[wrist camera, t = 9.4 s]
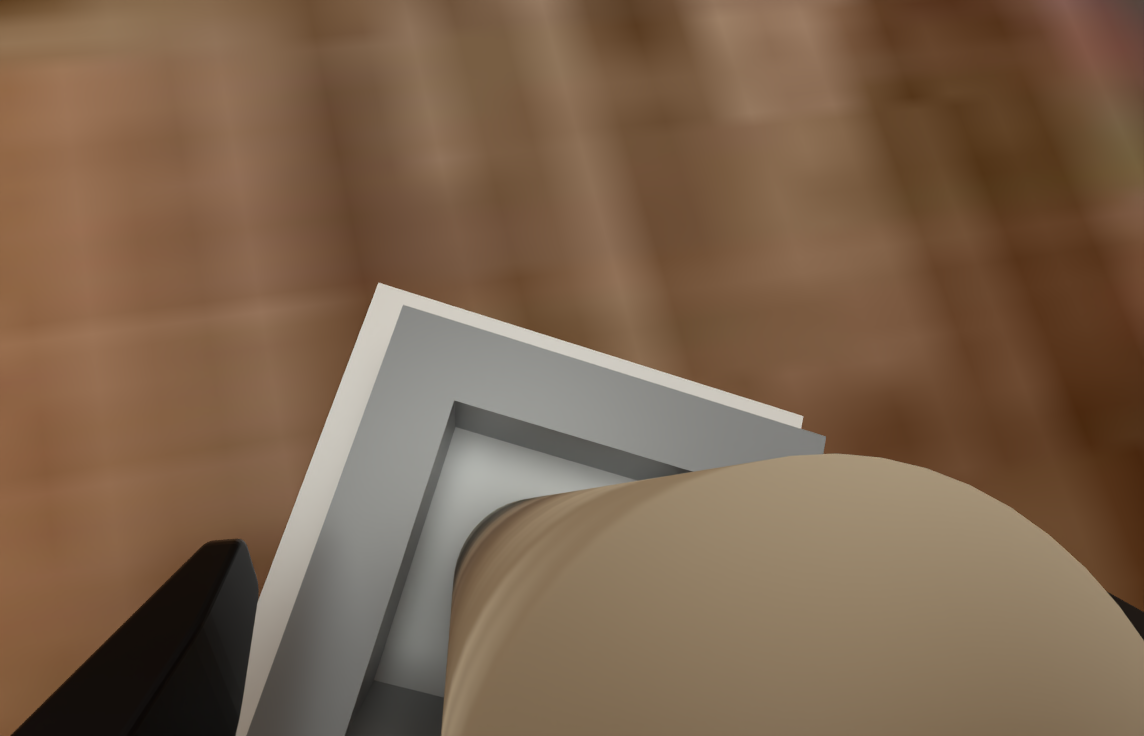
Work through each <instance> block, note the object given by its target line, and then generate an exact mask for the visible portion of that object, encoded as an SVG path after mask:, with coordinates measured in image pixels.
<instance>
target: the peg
mask: <svg viewBox="0 0 1144 736" xmlns="http://www.w3.org/2000/svg"><path fill="white" fill-rule="evenodd" d="M441 736H1144V640H1143V639H1142V637H1141V636H1140V635H1139V633H1138V632H1137V630H1136V629H1135V628H1134V626H1133V625H1132V623H1131V622H1130V621H1129V619H1128V618H1127V616H1126V615H1125V614H1124V612H1123V611H1122V609H1121V608H1120V607H1119V605H1118V604H1117V603H1116V602H1115V601H1114V600H1113V598H1112V597H1111V596H1110V595H1109V594H1108V593H1107V592H1106V591H1105V589H1104V588H1103V587H1102V586H1101V585H1100V584H1099V583H1098V582H1097V580H1096V579H1095V578H1094V577H1093V576H1092V575H1091V574H1090V572H1089V571H1088V570H1087V569H1086V568H1085V567H1084V566H1083V565H1082V564H1081V563H1079V562H1078V561H1077V560H1076V559H1075V558H1074V557H1073V556H1072V555H1071V554H1070V553H1068V552H1067V551H1066V550H1065V549H1064V548H1063V547H1062V546H1061V545H1060V544H1059V543H1057V542H1056V541H1055V540H1054V539H1053V538H1052V537H1051V536H1050V535H1048V534H1047V533H1046V532H1044V531H1043V530H1041V529H1040V528H1039V527H1037V526H1036V525H1034V524H1033V523H1032V522H1030V521H1029V520H1027V519H1026V518H1025V517H1023V516H1022V515H1020V514H1019V513H1018V512H1016V511H1015V510H1013V509H1012V508H1011V507H1009V506H1007V505H1005V504H1003V503H1002V502H1000V501H998V500H996V499H994V498H992V497H990V496H989V495H987V494H985V493H983V492H981V491H979V490H978V489H976V488H974V487H972V486H970V485H968V484H965V483H963V482H960V481H958V480H955V479H953V478H950V477H947V476H945V475H942V474H940V473H937V472H934V471H932V470H929V469H927V468H923V467H918V466H914V465H910V464H906V463H902V462H897V461H893V460H889V459H885V458H878V457H868V456H857V455H847V454H818V455H798V456H787V457H781V458H775V459H769V460H762V461H756V462H750V463H744V464H738V465H732V466H725V467H719V468H713V469H707V470H701V471H695V472H689V473H682V474H676V475H670V476H664V477H658V478H652V479H646V480H639V481H633V482H627V483H621V484H615V485H609V486H602V487H596V488H590V489H584V490H578V491H572V492H566V493H559V494H553V495H547V496H541V497H535V498H529V499H523V500H518V501H515V502H512V503H509V504H506V505H504V506H502V507H500V508H498V509H497V510H495V511H494V512H492V513H491V514H489V515H488V516H487V517H485V518H484V519H483V520H482V521H481V522H480V523H479V524H478V525H477V526H476V527H475V528H474V529H473V531H472V532H471V534H470V535H469V536H468V538H467V539H466V541H465V543H464V545H463V547H462V549H461V551H460V554H459V556H458V559H457V563H456V567H455V571H454V580H453V591H452V603H451V616H450V628H449V641H448V654H447V666H446V679H445V691H444V704H443V716H442V729H441Z"/></svg>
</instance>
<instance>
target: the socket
mask: <svg viewBox="0 0 1144 736" xmlns="http://www.w3.org/2000/svg"><path fill="white" fill-rule="evenodd" d="M802 421H803V416H801V415H798V414H795V413H791V412H788V411H785V410H782V409H779V408H776V407H772V406H769V405H766V404H763V403H760V402H756V401H753V400H750V399H747V398H744V397H741V396H737V395H734V394H731V393H728V392H725V391H721V390H718V389H715V388H712V387H709V386H706V385H702V384H699V383H696V382H693V381H690V380H686V379H683V378H680V377H677V376H674V375H671V374H667V373H664V372H661V371H658V370H655V369H651V368H648V367H645V366H642V365H639V364H636V363H632V362H629V361H626V360H623V359H620V358H617V357H613V356H610V355H607V354H604V353H601V352H597V351H594V350H591V349H588V348H585V347H582V346H578V345H575V344H572V343H569V342H566V341H562V340H559V339H556V338H553V337H550V336H547V335H543V334H540V333H537V332H534V331H531V330H527V329H524V328H521V327H518V326H515V325H512V324H508V323H505V322H502V321H499V320H496V319H492V318H489V317H486V316H483V315H480V314H477V313H473V312H470V311H467V310H464V309H461V308H457V307H454V306H451V305H448V304H445V303H442V302H438V301H435V300H432V299H429V298H426V297H422V296H419V295H416V294H413V293H410V292H407V291H403V290H400V289H397V288H394V287H391V286H388V285H384V284H381V283H378V286H377V288H376V291H375V294H374V296H373V299H372V301H371V304H370V307H369V309H368V312H367V315H366V317H365V320H364V323H363V325H362V328H361V330H360V333H359V336H358V338H357V341H356V344H355V346H354V349H353V352H352V354H351V357H350V360H349V362H348V365H347V367H346V370H345V373H344V375H343V378H342V381H341V383H340V386H339V389H338V391H337V394H336V397H335V399H334V402H333V404H332V407H331V410H330V412H329V415H328V418H327V420H326V423H325V426H324V428H323V431H322V434H321V436H320V439H319V441H318V444H317V447H316V449H315V452H314V455H313V457H312V460H311V463H310V465H309V468H308V471H307V473H306V476H305V478H304V481H303V484H302V486H301V489H300V492H299V494H298V497H297V500H296V502H295V505H294V508H293V510H292V513H291V515H290V518H289V521H288V523H287V526H286V529H285V531H284V534H283V537H282V539H281V542H280V545H279V547H278V550H277V552H276V555H275V558H274V560H273V563H272V566H271V568H270V571H269V574H268V576H267V579H266V582H265V584H264V587H263V589H262V592H261V595H260V597H259V600H258V603H257V609H256V616H255V622H254V629H253V636H252V642H251V649H250V655H249V662H248V669H247V675H246V682H245V688H244V695H243V701H242V707H241V713H240V719H239V723H238V727H237V731H236V736H441V729H442V716H443V704H444V691H445V679H446V666H447V654H448V641H449V628H450V616H451V603H452V591H453V580H454V571H455V567H456V563H457V559H458V556H459V554H460V551H461V549H462V547H463V545H464V543H465V541H466V539H467V538H468V536H469V535H470V534H471V532H472V531H473V529H474V528H475V527H476V526H477V525H478V524H479V523H480V522H481V521H482V520H483V519H484V518H485V517H487V516H488V515H489V514H491V513H492V512H494V511H495V510H497V509H498V508H500V507H502V506H504V505H506V504H509V503H512V502H515V501H518V500H523V499H529V498H535V497H541V496H547V495H553V494H559V493H566V492H572V491H578V490H584V489H590V488H596V487H602V486H609V485H615V484H621V483H627V482H633V481H639V480H646V479H652V478H658V477H664V476H670V475H676V474H682V473H689V472H695V471H701V470H707V469H713V468H719V467H725V466H732V465H738V464H744V463H750V462H756V461H762V460H769V459H775V458H781V457H787V456H798V455H818V454H823V452H824V446H825V440H826V436H822V435H819V434H816V433H813V432H809V431H806V430H803V429H801V426H802Z"/></svg>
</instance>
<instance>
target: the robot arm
mask: <svg viewBox="0 0 1144 736" xmlns="http://www.w3.org/2000/svg"><path fill="white" fill-rule="evenodd" d="M1106 592H1107V591H1106ZM1107 593H1108V592H1107ZM1108 594H1109V595H1110V596H1111V597H1112V598H1113V600H1114V601H1115V602H1116V603H1117V604H1118V605H1119V607H1120V608H1121V609H1122V611H1123V612H1124V614H1125V615H1126V616H1127V618H1128V619H1129V621H1130V622H1131V623H1132V625H1133V626H1134V628H1135V629H1136V630H1137V632H1138V633H1139V635H1140V636H1141V637H1142V639H1143V640H1144V612H1143V611H1141V610H1139V609H1137V608H1135V607H1134V606H1132V605H1130V604H1128V603H1126V602H1125V601H1123V600H1121V599H1119V598H1117V597H1116V596H1114V595H1112V594H1110V593H1108ZM257 603H258V581H257V577H256V574H255V571H254V567H253V564H252V561H251V557H250V554H249V551H248V547H247V545H246V543H245V542H244V541H243V540H242V539H227V540H215V541H210V542H207V543H206V544H204V545H203V546H202V547H201V548H200V549H199V550H198V551H197V552H196V553H195V554H194V555H193V556H192V557H190V558H189V559H188V560H187V561H186V562H185V563H184V564H183V565H182V566H181V567H180V568H179V569H178V570H177V571H176V572H175V573H174V574H173V575H172V576H171V577H170V578H169V579H168V580H167V581H166V582H165V583H164V584H163V585H162V586H161V587H160V588H159V589H158V590H157V591H156V592H155V593H154V594H153V595H152V596H151V597H150V598H149V599H148V600H147V601H146V602H145V603H144V604H143V605H142V606H141V607H140V608H139V609H138V610H137V611H136V612H135V613H134V614H133V615H132V616H131V617H130V618H129V619H128V620H127V621H126V622H125V623H124V624H123V625H122V626H121V627H120V628H119V629H118V630H117V631H116V632H115V633H114V634H113V635H112V636H111V637H110V638H109V639H108V640H107V641H106V642H105V643H104V644H103V645H102V646H101V647H100V648H99V649H97V650H96V651H95V652H94V653H93V654H92V655H91V656H90V657H89V658H88V659H87V660H86V661H85V662H84V663H83V664H82V665H81V666H80V667H79V668H78V669H77V670H76V671H75V672H74V673H73V674H72V675H71V676H70V677H69V678H68V679H67V680H66V681H65V682H64V683H63V684H62V685H61V686H60V687H59V688H58V689H57V690H56V691H55V692H54V693H53V694H52V695H51V696H50V697H49V698H48V699H47V700H46V701H45V702H44V703H43V704H42V705H41V706H40V707H39V708H38V709H37V710H36V711H35V712H34V713H33V714H32V715H31V716H30V717H29V718H28V719H27V720H26V721H25V722H24V723H23V724H22V725H21V726H20V727H19V728H18V729H17V730H16V731H15V732H14V733H13V734H12V735H11V736H236V731H237V727H238V723H239V719H240V713H241V707H242V701H243V695H244V688H245V682H246V675H247V669H248V662H249V655H250V649H251V642H252V636H253V629H254V622H255V616H256V609H257Z"/></svg>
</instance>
